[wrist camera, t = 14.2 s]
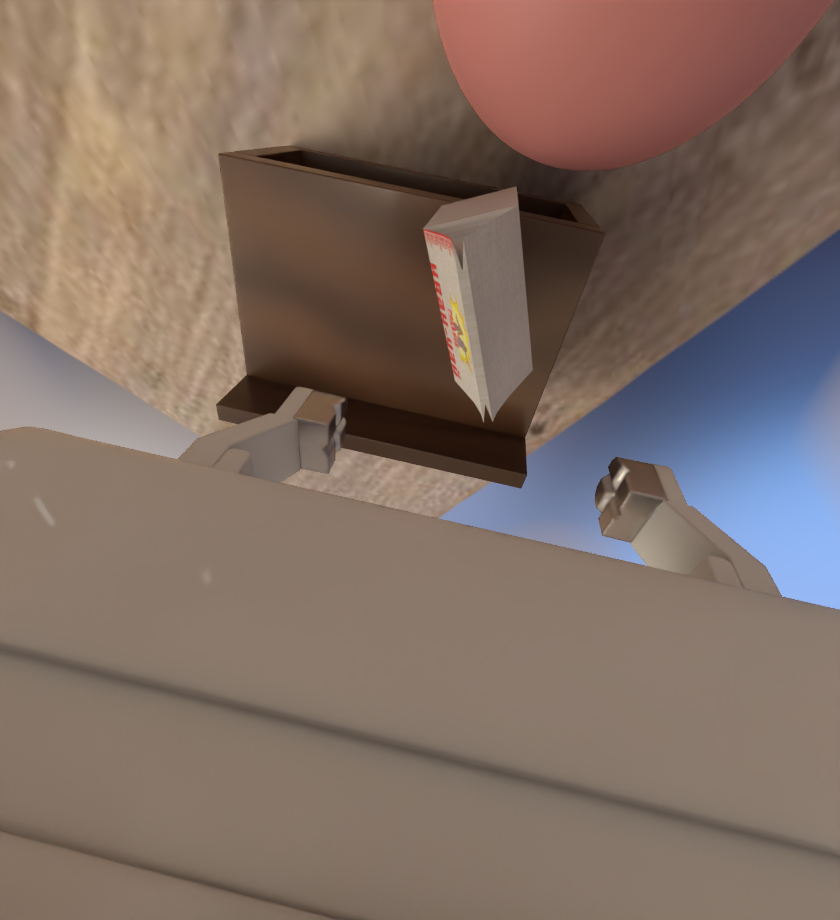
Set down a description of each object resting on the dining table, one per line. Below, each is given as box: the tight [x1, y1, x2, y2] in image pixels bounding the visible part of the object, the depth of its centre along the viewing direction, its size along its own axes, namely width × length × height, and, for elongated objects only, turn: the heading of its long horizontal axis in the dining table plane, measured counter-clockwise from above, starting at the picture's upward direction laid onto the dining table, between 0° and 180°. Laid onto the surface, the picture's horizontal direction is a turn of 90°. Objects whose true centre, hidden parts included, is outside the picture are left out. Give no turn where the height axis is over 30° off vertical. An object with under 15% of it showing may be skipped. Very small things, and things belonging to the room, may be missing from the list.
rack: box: [216, 146, 605, 488], centre depth 27 cm, size 14×20×13 cm
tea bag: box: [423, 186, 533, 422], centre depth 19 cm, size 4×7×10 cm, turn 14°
